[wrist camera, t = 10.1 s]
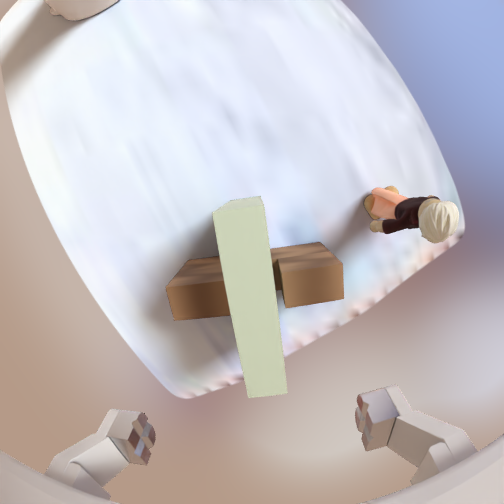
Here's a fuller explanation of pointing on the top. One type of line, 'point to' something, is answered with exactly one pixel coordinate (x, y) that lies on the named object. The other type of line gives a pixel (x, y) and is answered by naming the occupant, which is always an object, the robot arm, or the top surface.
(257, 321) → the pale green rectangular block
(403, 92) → the top surface
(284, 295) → the wooden u-shaped block
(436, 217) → the grandmother figurine
